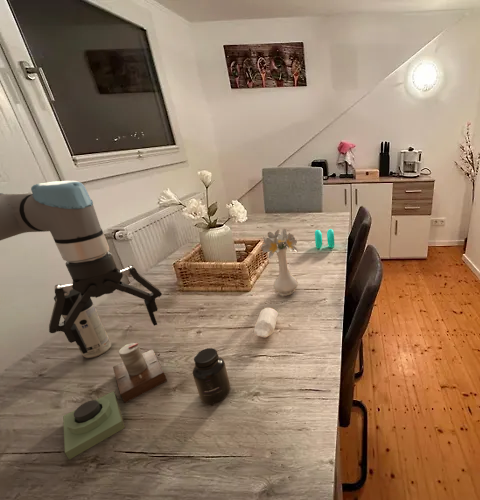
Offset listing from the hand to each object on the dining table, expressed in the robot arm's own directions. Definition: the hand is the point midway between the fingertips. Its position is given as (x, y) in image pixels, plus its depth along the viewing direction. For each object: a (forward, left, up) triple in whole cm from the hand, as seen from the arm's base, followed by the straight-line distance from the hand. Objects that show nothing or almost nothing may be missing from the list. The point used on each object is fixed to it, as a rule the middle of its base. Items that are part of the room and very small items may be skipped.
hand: (121, 335), depth 68 cm
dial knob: (0, 0, -11) cm, 11 cm away
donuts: (-32, +90, -14) cm, 97 cm away
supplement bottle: (+19, +12, -14) cm, 27 cm away
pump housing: (+8, -10, -14) cm, 19 cm away
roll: (+8, +32, -14) cm, 36 cm away
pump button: (+8, -10, -10) cm, 16 cm away
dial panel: (0, 0, -14) cm, 14 cm away
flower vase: (-9, +50, -14) cm, 53 cm away
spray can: (-22, -7, -14) cm, 27 cm away
